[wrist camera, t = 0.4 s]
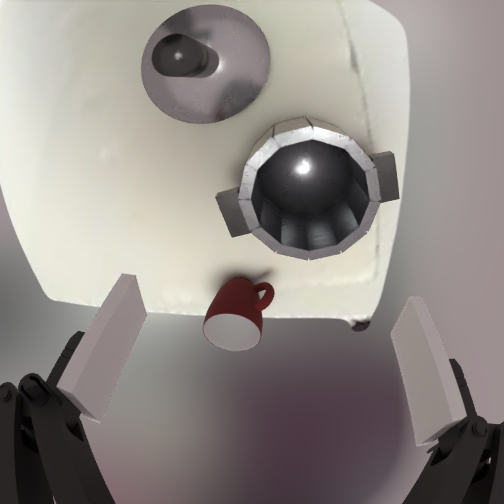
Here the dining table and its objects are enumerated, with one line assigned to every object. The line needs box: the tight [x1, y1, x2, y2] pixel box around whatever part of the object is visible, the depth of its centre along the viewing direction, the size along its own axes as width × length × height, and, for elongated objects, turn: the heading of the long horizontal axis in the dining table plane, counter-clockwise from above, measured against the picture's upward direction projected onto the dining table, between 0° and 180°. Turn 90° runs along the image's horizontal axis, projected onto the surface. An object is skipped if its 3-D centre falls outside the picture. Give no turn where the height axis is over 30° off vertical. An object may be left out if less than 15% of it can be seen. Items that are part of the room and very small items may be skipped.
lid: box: [141, 5, 270, 124], centre depth 23 cm, size 15×15×12 cm
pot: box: [215, 116, 399, 260], centre depth 31 cm, size 14×19×9 cm
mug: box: [203, 278, 274, 351], centre depth 41 cm, size 10×8×10 cm
